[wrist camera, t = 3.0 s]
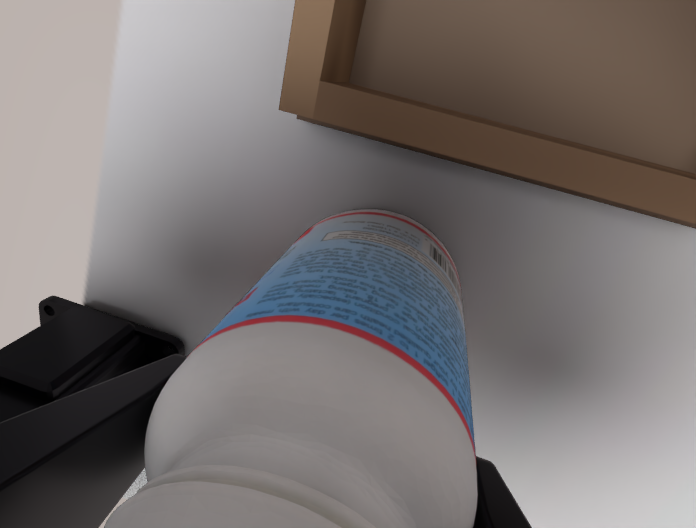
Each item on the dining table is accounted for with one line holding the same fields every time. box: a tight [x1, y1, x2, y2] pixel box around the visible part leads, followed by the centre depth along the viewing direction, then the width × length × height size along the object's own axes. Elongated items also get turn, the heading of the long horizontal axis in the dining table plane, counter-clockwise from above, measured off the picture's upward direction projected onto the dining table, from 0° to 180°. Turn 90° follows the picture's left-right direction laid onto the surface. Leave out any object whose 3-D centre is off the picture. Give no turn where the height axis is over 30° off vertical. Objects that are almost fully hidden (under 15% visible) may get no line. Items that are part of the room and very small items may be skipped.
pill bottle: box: [104, 209, 478, 528], centre depth 10 cm, size 6×6×11 cm
